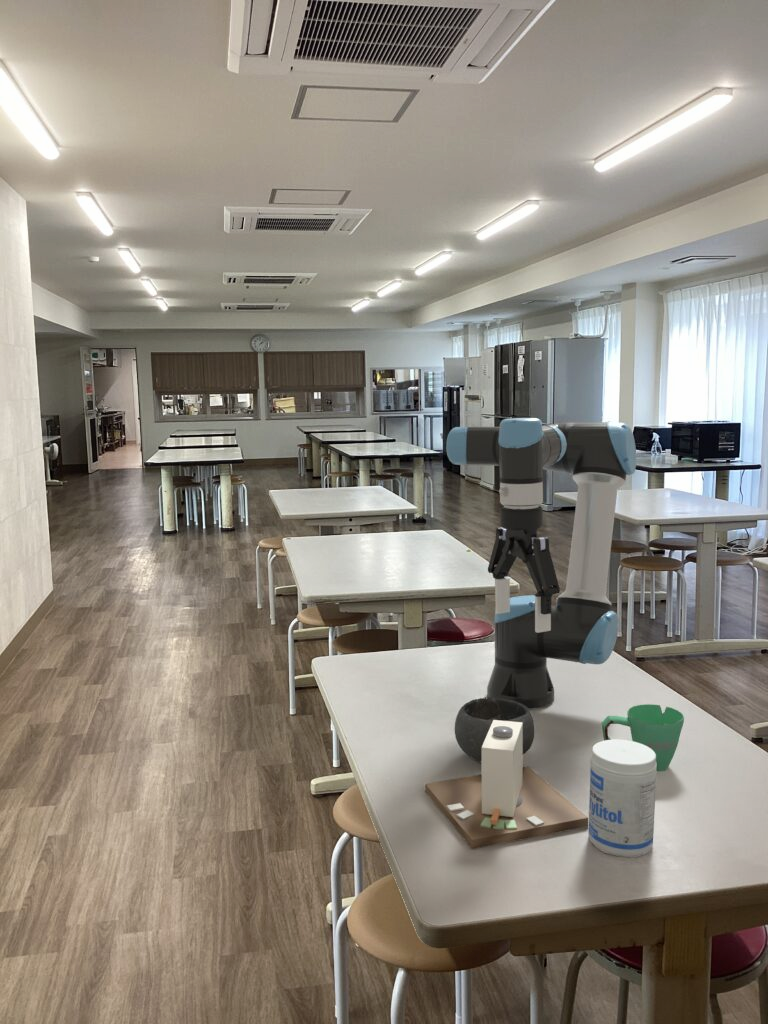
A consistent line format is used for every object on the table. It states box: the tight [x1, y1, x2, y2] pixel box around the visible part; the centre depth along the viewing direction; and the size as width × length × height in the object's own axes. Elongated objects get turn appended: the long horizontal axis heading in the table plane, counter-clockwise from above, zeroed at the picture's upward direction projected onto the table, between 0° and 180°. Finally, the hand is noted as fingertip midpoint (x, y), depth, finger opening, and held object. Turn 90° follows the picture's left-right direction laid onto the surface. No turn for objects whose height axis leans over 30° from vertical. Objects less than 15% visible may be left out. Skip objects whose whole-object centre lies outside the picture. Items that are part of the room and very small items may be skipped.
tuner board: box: [424, 766, 589, 850], centre depth 138 cm, size 20×20×2 cm
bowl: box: [454, 697, 536, 763], centre depth 156 cm, size 15×15×10 cm
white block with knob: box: [481, 720, 524, 825], centre depth 135 cm, size 16×5×12 cm, turn 164°
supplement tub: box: [587, 738, 657, 858], centre depth 125 cm, size 10×10×15 cm
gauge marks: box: [447, 803, 544, 830], centre depth 132 cm, size 12×10×1 cm
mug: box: [601, 703, 685, 773], centre depth 152 cm, size 15×10×10 cm
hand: (522, 621), depth 150 cm, fingers open, 13 cm apart
